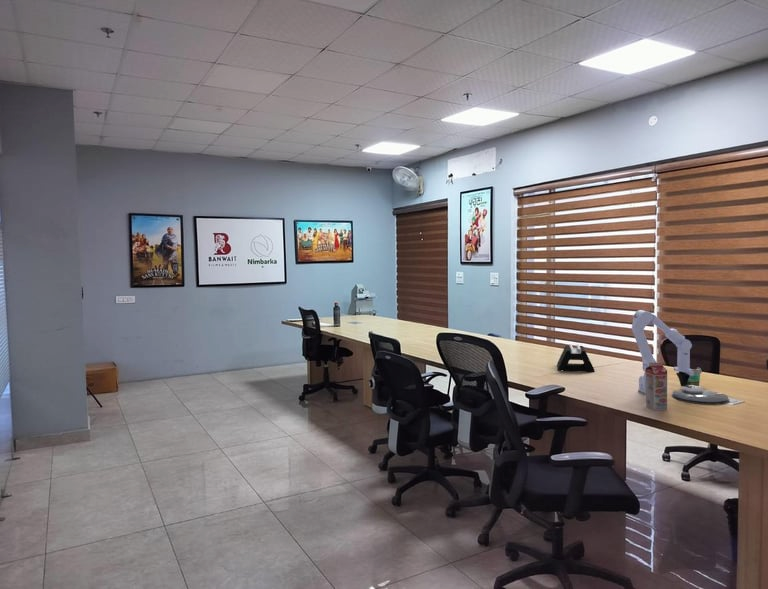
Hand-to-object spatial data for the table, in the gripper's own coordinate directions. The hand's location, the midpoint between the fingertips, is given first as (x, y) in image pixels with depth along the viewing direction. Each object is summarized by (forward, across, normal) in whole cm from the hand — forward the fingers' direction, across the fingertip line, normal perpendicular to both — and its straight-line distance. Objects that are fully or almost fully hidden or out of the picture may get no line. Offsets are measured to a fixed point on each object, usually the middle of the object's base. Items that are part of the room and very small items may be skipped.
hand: (683, 386), depth 281 cm
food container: (+3, +10, -12) cm, 16 cm away
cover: (+1, -8, 0) cm, 8 cm away
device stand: (+3, +73, +29) cm, 78 cm away
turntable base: (+3, -14, 0) cm, 14 cm away
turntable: (+3, -14, 0) cm, 14 cm away
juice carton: (+3, -29, +31) cm, 42 cm away
